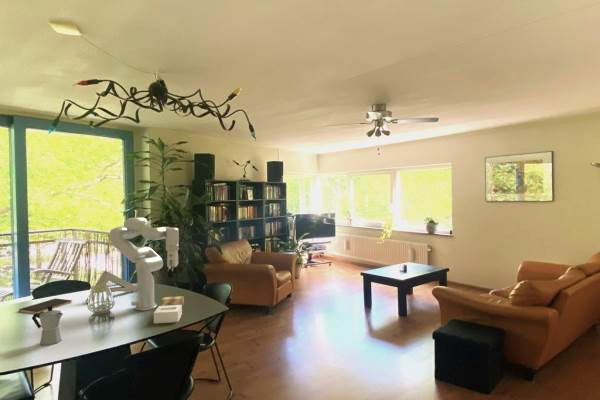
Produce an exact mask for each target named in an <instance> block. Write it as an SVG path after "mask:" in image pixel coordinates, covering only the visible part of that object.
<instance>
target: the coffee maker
mask: <svg viewBox="0 0 600 400" xmlns="http://www.w3.org/2000/svg"><path fill="white" fill-rule="evenodd" d="M47 308H48V311H45V312H44V311H41V312H40V313H36V314H34V313H33V315H32V317H31V319H32V321H33V323H34V324H35V326H36V327H37V328H38V329H42V331H41V337H40V343H39V344H40V346H42V347H44V346H49V347H50V346H53V345H56V344H59V343H60V342H61V341H62V337H61V332H60V328H59V325H60V320H61V318H62V316H63V315H64V313H62V311H61V310H57V309H52V308H53V305H50V306H47ZM38 319H39V320H38ZM39 321H40V322H39Z"/></svg>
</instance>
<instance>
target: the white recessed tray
mask: <svg viewBox="0 0 600 400" xmlns="http://www.w3.org/2000/svg"><path fill="white" fill-rule="evenodd" d="M155 309H156V310H155V311H154V312H153V324H165V323H166V324H167V323H168V324H169V323H178V322H179V321H180V319H181V317H182V316H181V315H183V306H182V305H169V306H162V305H159V306H157V307H156V308H155Z"/></svg>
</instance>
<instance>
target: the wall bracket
mask: <svg viewBox="0 0 600 400" xmlns="http://www.w3.org/2000/svg"><path fill="white" fill-rule="evenodd" d="M109 282H112V283H114V284H115V285H117V286H115V287H113V286H112V287H109V288H110V290H111V293H116V292H124V293H129V294H132V293H135V292H138V285H137V286H136V285H135V284H133V283H131V282H128V281H127V280H124V279H123V278H120V276H117V275H115V274H113V273H111V272H109V271H107V270H106V271H105V270H104V271H103V272H102V273H101V275H100V277H99V279H98V280H97V282H96V283H95V285H94V286H98V285H106V286H107V284H108V283H109ZM88 297H89V295H88ZM88 297H86V299H85V302H86V303H88V302H87V301H88Z"/></svg>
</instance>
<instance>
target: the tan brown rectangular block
mask: <svg viewBox="0 0 600 400" xmlns="http://www.w3.org/2000/svg"><path fill="white" fill-rule="evenodd" d="M184 297H185V296H184V295H183V296H182V295H181V296H163V297H162V299H161V306H169V305H182V307H183V306H184V304H185V303H184V302H185V298H184Z"/></svg>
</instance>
